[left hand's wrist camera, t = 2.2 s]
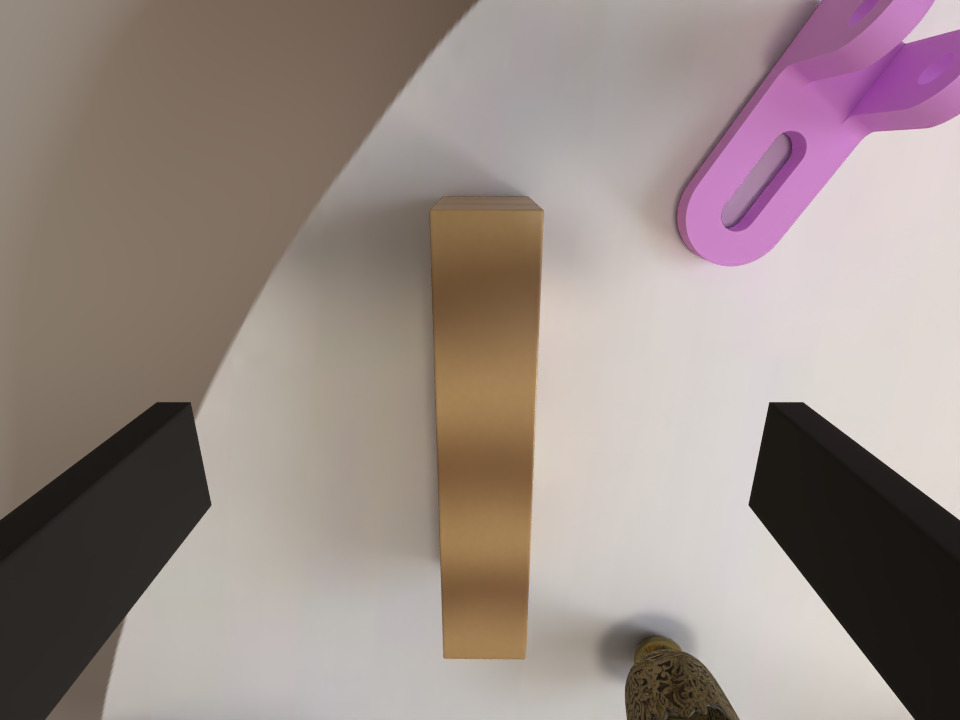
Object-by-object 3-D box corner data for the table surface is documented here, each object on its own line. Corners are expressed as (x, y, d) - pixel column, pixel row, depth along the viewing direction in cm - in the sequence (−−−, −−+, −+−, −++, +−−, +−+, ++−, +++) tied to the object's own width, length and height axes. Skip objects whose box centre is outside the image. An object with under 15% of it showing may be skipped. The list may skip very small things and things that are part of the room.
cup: (723, 630, 41) (777, 737, 33) (673, 695, 43) (713, 808, 36) (636, 600, 40) (671, 702, 32) (590, 667, 42) (612, 778, 35)
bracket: (824, -3, 27) (934, -54, 20) (904, 66, 28) (1034, 38, 21) (656, 227, 30) (703, 246, 24) (732, 279, 32) (797, 311, 25)
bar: (442, 196, 30) (429, 209, 23) (529, 196, 30) (544, 209, 23) (451, 563, 39) (443, 659, 32) (517, 563, 39) (525, 659, 32)
